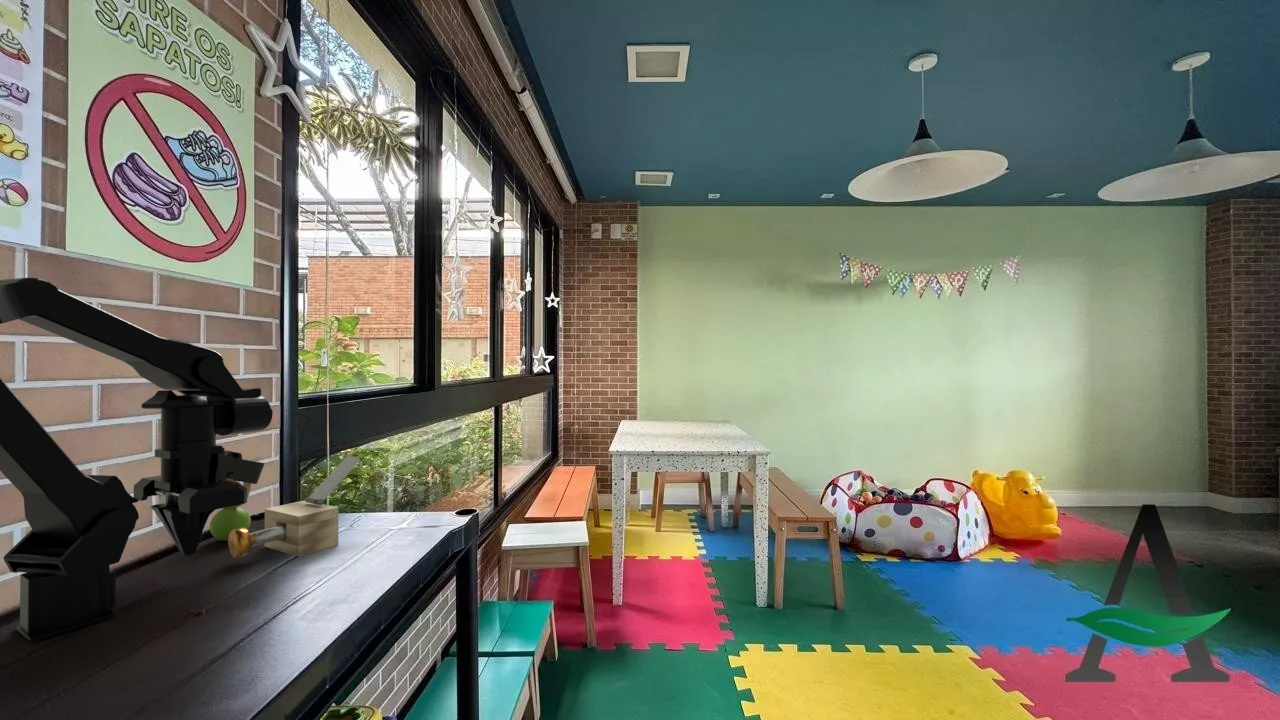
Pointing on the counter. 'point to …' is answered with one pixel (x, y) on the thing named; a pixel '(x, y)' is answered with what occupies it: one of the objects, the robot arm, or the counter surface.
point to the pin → (252, 539)
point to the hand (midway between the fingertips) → (188, 554)
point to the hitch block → (303, 527)
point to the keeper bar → (332, 480)
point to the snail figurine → (230, 518)
